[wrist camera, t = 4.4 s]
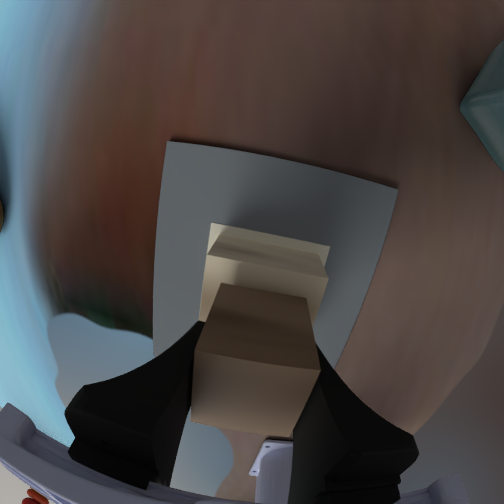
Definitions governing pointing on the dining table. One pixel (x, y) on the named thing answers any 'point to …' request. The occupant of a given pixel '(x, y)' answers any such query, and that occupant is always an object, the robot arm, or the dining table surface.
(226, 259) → the base block
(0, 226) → the bread roll
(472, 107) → the flower pot
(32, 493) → the stacking toy
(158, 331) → the build mat
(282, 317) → the walnut block
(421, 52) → the dining table surface
